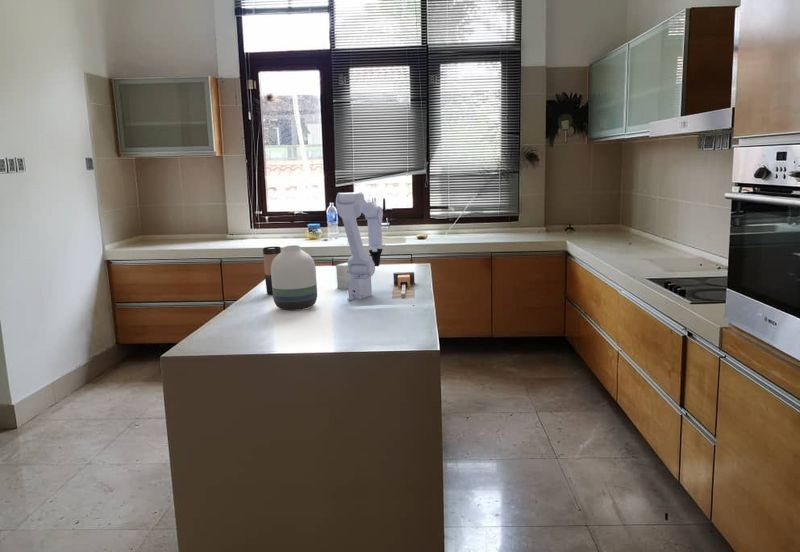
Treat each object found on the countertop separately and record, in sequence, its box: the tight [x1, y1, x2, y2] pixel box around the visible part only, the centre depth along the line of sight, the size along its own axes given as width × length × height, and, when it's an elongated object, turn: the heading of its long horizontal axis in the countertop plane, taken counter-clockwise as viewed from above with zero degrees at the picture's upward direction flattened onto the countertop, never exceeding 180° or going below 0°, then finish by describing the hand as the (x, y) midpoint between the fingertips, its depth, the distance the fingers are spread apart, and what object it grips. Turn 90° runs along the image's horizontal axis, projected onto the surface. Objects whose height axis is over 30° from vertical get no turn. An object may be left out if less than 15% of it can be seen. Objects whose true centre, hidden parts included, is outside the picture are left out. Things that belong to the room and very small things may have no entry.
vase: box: [271, 244, 318, 311], centre depth 246 cm, size 17×17×24 cm
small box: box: [335, 262, 353, 290], centre depth 285 cm, size 8×6×10 cm
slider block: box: [398, 275, 410, 288], centre depth 275 cm, size 6×5×4 cm
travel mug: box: [262, 246, 282, 296], centre depth 278 cm, size 8×8×20 cm
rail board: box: [391, 271, 416, 300], centre depth 267 cm, size 32×9×6 cm, turn 179°
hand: (376, 266), depth 274 cm, fingers closed
